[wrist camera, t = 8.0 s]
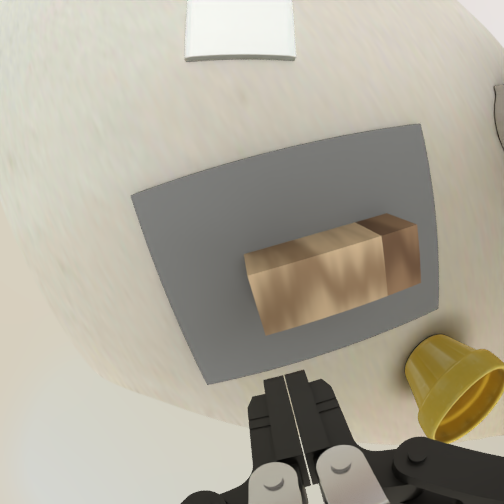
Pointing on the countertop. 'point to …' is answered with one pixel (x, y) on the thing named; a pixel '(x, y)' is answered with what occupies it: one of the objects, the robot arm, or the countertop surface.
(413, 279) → the block
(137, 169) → the countertop surface
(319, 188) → the mat
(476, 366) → the plant pot
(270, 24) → the external hard drive
